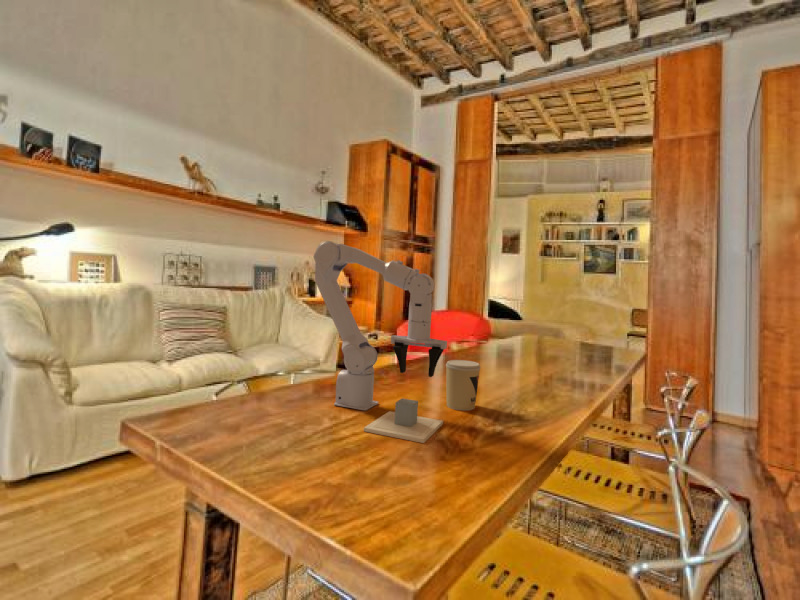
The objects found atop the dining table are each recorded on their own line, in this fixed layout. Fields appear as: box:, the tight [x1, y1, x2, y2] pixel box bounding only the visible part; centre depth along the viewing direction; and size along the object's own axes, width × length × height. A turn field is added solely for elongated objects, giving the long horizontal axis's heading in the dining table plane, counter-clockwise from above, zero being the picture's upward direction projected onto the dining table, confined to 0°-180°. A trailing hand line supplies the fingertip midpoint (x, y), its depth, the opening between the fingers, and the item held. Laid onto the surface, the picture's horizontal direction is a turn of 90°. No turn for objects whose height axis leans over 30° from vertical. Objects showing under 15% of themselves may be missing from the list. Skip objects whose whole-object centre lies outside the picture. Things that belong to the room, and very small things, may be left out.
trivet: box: [363, 410, 444, 444], centre depth 102 cm, size 14×14×1 cm
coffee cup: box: [445, 359, 481, 412], centre depth 121 cm, size 9×9×12 cm
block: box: [394, 398, 419, 427], centre depth 102 cm, size 4×4×5 cm
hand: (416, 374), depth 113 cm, fingers open, 7 cm apart
